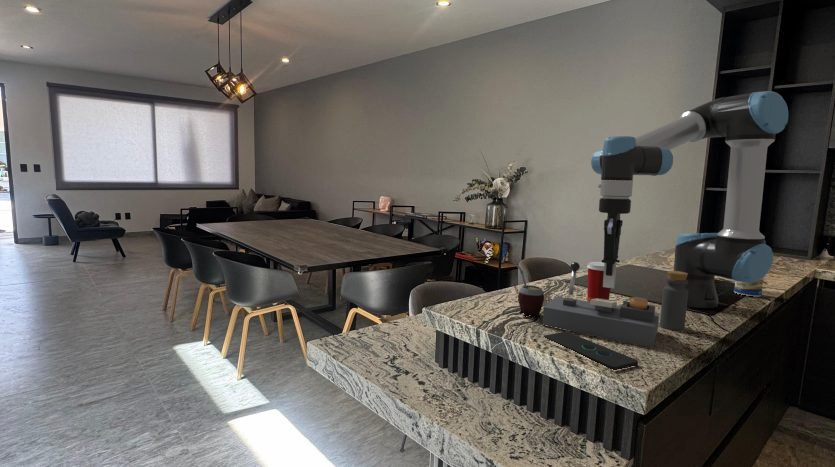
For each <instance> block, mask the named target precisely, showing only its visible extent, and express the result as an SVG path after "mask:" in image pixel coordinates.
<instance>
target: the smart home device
mask: <svg viewBox="0 0 835 467" xmlns="http://www.w3.org/2000/svg"><path fill="white" fill-rule="evenodd" d="M544 337H545V338H547V339H549V340H551V341H554V342H556V343H558V344H560V345H562V346H564V347H566V348H569V349H571V350H573V351H575V352H577V353H579V354H581V355H583V356H585V357H587V358H589V359H591V360H593V361H595V362H597V363H600V364H602V365H604V366H606V367H608V368H610V369H613V370H617V369H622V368H628V367H631V366H637V367H638V366H639V360H637V359H636V358H633V357H631V356H629V355H626V354H623V353H621V352H619V351H615V350H613V349H610V348H609V347H606V346H603V345H601V344H599V343H597V342H593V341H591V340H589V339H586V338H584V337H581V336H578V335H576V334H574V333H573V332H570V331H563V332H562V331H561V332H556V333H552V334H546V335H543V338H544Z"/></svg>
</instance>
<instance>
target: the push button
mask: <svg viewBox="0 0 835 467" xmlns="http://www.w3.org/2000/svg"><path fill="white" fill-rule="evenodd" d="M629 302H630V303H629V307H631V308H637V309H643V310H647V305H648V302H649V300H648V299H647V298H645V297H639V296H630V298H629Z"/></svg>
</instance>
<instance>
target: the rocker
mask: <svg viewBox="0 0 835 467" xmlns="http://www.w3.org/2000/svg"><path fill="white" fill-rule="evenodd" d="M590 304H591V305H598V306H604V307H610V308H612V307H615V306H618V301H616V300H612V299H609V300H607V299H601V298H600V299H598V298H597V299H591V300H590Z"/></svg>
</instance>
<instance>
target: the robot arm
mask: <svg viewBox="0 0 835 467" xmlns="http://www.w3.org/2000/svg"><path fill="white" fill-rule="evenodd" d="M788 122H789V109H788V104H787V103H786V100H784V98H783V96H782V95H781V94H779V93H778V92H775V91H772V90H766V91H754V92H749V93H743V94H737V95H732V96H731V95H730V96H723V97H720V98H716V99H713V100H711V101H708V102H706V103H703V104H701V105H699V106H696V107H694V108H692V109H690V110H687V111H685V112H682V114H681V115H680V116H679V117H678V119H675V120H672V121H670V122H668V123H666V124H663V125H661V126H659V127H657V128H655V129H652V130H650V131H647V132H646V133H645V132H644V133H643V134H641V135H639V136H638V135H637V136H636V137H635V136H631V135H629V136H627V135H617V136H616V135H614V136H609V137H606V138H605V139H604V141H603V146H602V147H603V148H601V149H599V150H597V151H595V152H594V153H593V155H592V156H591V158H590V159H591V161H590V165H591V168H592V171H594V173H596V174H598V175H601V177H600V183H598V186H597V187H598V189H600V190H599V191H600V193H599V195H600V197H601V198H599V201H598V203H599V204H598V212H599V213H601V214H602V213H603V214H607V218H606V219H604V223H603V233H604V234H603V236H604V237H603V259H602V260H601V262H602V263H604V277H603V287H607V288H611V289H615V287H616V286H615V285H616V274H617V273H616V272H617V263H620V261H621V260H620V259H619V249H620V241H621V240H620V239H621V238H620V237H621V234H622V227H623V222H624V221H623V220H622V219H621V215H625V214H626V215H627V214H630V213H631V207H632V206H631V205H632V200H631V199H630V197H632V195H633V184H634V176H652V177H656V176H664V175H665V174H667V173H668V172H669V171H670V170H672V167H673V163H674V156H673V153H672V151H671V150H673V149H675V148H677V147H679V146H682V145H684V144H686V143H688V142H689V143H696V142H699V141H701V140H704V139H712V138H723V137H724V138H725V139H724V143H726V144H727V145H728V146H729V147H730V156H729V163H728V164H729V165H728V166H729V167H728V173H727V174H728V175H727V176H728V177H727V186H726V196H725V197H726V198H725V199H726V200H725V209H724V219H723V220H724V221H723V228H722V229H721V230H720V231H719V232H710V233H709V232H704V233H703V232H702V233H700V232H697V233H696V232H694V233H693V232H691V233H689V232H688V233H687V232H686V233H685V232H684V233H683V232H682V233H680V234H679V235H678V236H677V237H676V243H675V245H674V246H675V250H674V258H673V260H674V262H673V271H680V272H685V273H688V275H687V278H686V280H688V284H686V285H685V288H686V289H687V290H688V300H687V307H690V308H697V309H700V308H701V309H715V308H714V307H716V308H717V307H718V305H719V297H718V293H717V289H716V284H715V277H718V278H724V279H728V280H733V281H738V282H739V281H742V282H747V283H753V282H757V281H759V280H761V279H762V278H763V277H764V278H765V276H766V275H767V274H768V273H769V272H770V269H771V268H772V266H773V263H774V252H773V249H772V248H771V246H769V245H767V244H764V241H766V240H765V238H766V237H765V235H764V234H763V233H761V232H760V224H761V223H760V222H761V214H762V213H761V212H762V206H763V205H762V204H763V196H764V195H763V193H764V185H765V183H764V182H765V176H766V175H765V174H766V164H767V156H768V155H767V154H768V147H769V146H770V145H771V144H772V143H774V142H775V140H776V136H777V135H776V134H779V133H780V132H783V130H784V129H785V128H786V126H787V125H788Z"/></svg>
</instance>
